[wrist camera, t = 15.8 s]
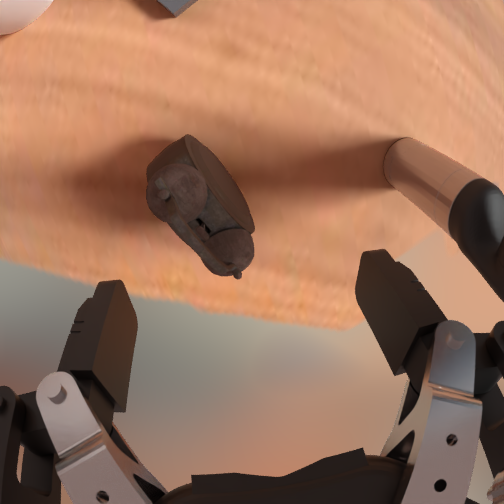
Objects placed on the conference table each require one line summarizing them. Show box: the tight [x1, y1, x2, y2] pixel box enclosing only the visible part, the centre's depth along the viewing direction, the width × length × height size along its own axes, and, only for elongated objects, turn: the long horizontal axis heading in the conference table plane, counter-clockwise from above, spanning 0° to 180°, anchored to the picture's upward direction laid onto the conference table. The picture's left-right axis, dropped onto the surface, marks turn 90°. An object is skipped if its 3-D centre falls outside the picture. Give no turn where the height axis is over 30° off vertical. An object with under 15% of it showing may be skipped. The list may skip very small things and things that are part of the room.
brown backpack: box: [146, 134, 255, 279], centre depth 34 cm, size 14×7×20 cm, turn 33°
